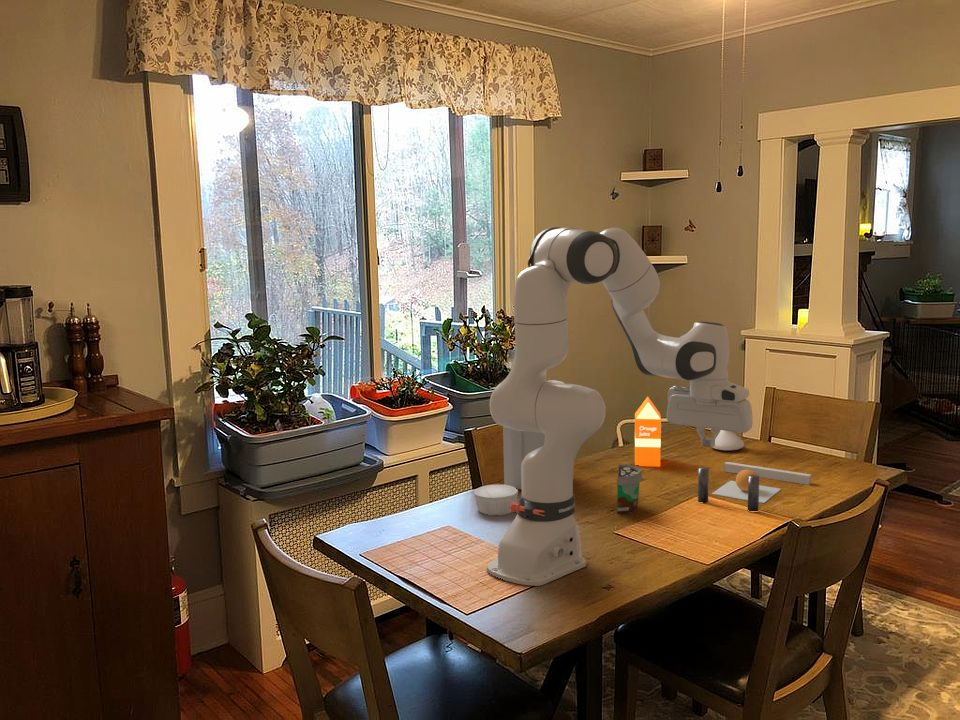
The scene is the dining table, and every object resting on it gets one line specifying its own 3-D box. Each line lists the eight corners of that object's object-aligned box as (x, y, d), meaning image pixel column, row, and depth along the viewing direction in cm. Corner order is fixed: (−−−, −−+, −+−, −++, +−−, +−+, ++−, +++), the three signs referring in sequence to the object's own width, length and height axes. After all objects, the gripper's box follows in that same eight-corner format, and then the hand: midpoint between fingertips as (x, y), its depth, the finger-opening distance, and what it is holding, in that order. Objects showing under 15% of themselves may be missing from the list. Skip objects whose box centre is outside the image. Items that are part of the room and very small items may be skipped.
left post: (705, 503, 210) (706, 470, 208) (696, 502, 211) (696, 468, 210) (709, 501, 212) (710, 467, 211) (700, 499, 213) (700, 466, 212)
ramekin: (465, 510, 209) (465, 491, 209) (495, 500, 217) (495, 481, 216) (497, 520, 202) (496, 500, 201) (526, 509, 209) (526, 489, 209)
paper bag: (536, 497, 218) (534, 395, 214) (503, 484, 230) (501, 388, 226) (588, 484, 229) (588, 386, 225) (554, 472, 241) (553, 379, 237)
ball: (763, 474, 220) (759, 495, 218) (741, 471, 223) (737, 492, 222) (757, 469, 215) (753, 491, 214) (735, 465, 219) (730, 487, 217)
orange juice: (634, 465, 246) (634, 401, 243) (634, 458, 254) (634, 395, 251) (661, 466, 244) (661, 401, 241) (659, 458, 253) (660, 395, 250)
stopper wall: (808, 485, 223) (809, 476, 223) (723, 471, 238) (724, 463, 237) (810, 483, 225) (811, 474, 224) (726, 469, 239) (726, 461, 239)
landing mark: (763, 503, 209) (764, 502, 209) (711, 494, 217) (711, 493, 217) (781, 489, 220) (781, 488, 220) (730, 481, 228) (730, 480, 228)
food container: (642, 516, 201) (642, 478, 200) (617, 515, 203) (617, 477, 201) (642, 501, 213) (642, 464, 212) (618, 500, 215) (618, 463, 213)
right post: (756, 513, 202) (757, 478, 201) (746, 511, 204) (746, 476, 202) (759, 510, 204) (760, 475, 203) (749, 508, 206) (750, 474, 204)
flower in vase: (720, 442, 270) (722, 368, 267) (751, 448, 262) (753, 372, 258) (697, 449, 262) (698, 373, 258) (728, 456, 253) (730, 377, 250)
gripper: (662, 387, 196) (661, 442, 198) (746, 395, 183) (744, 454, 185) (673, 383, 201) (672, 437, 203) (755, 391, 188) (754, 448, 190)
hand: (707, 445), depth 194 cm, fingers closed
